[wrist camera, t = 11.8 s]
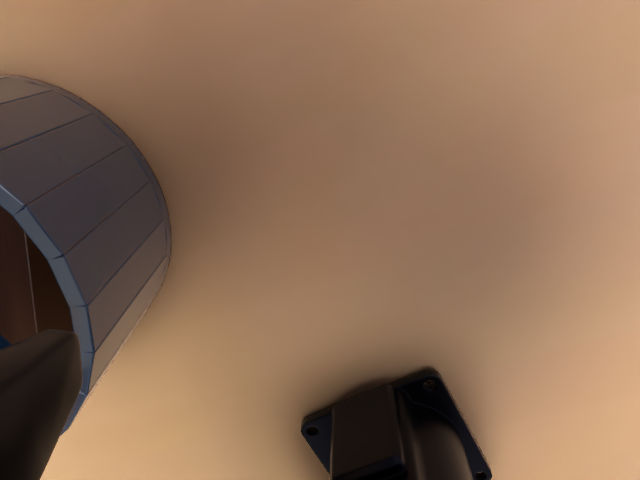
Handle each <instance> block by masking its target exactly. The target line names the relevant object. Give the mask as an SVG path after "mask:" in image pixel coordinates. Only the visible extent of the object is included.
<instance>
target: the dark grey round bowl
mask: <svg viewBox="0 0 640 480" xmlns="http://www.w3.org/2000/svg"><path fill="white" fill-rule="evenodd" d="M0 206H1V207H2V208H3V209H4V210H6V211H7V212H8V213H9V214H10V215H12V216H13V218H14V219H15V220H16V221H17V223H18V224H19V225H20V226H21V228H22V229H23V230H24V232H25V233H26V234H27V235H28V237H29V238H30V239H31V240H32V242H33V243H34V244H35V246H36V247H37V248H38V249H39V251H40V252H41V253H42V254H43V256H44V257H45V258H46V259H47V261H48V263H49V265H50V268H51V270H52V272H53V274H54V276H55V278H56V280H57V282H58V285H59V287H60V289H61V291H62V293H63V295H64V297H65V300H66V302H67V304H68V306H69V309H70V315H71V321H72V327H73V332H75V333H76V334H77V335H78V337H79V341H80V352H81V363H82V375H83V379H82V386H81V389H80V392H79V395H78V397H77V399H76V401H75V404H74V406H73V408H72V410H71V412H70V415H69V417H68V419H67V421H66V423H65V426H64V428H63V430H62V432H61V434H60V436H61V435H62V434H63V433H64V432H65V431H66V430H68V429H69V427H70V426H71V425H72V423H73V422H74V420H75V419H76V417H77V416H78V414H79V413H80V411H81V410H82V408H83V407H84V405H85V404H86V402H87V400H88V399H89V397H90V396H91V394H92V393H93V391H94V390H95V388H96V387H97V385H98V384H99V382H100V381H101V379H102V378H103V376H104V375H105V373H106V372H107V370H108V369H109V367H110V366H111V364H112V363H113V361H114V360H115V358H116V357H117V355H118V354H119V352H120V351H121V349H122V348H123V346H124V345H125V343H126V342H127V340H128V339H129V337H130V336H131V334H132V333H133V331H134V330H135V328H136V327H137V325H138V324H139V322H140V321H141V319H142V318H143V316H144V315H145V313H146V311H147V310H148V308H149V306H150V304H151V303H152V301H153V299H154V298H155V296H156V295H157V293H158V291H159V289H160V287H161V285H162V283H163V281H164V278H165V275H166V271H167V268H168V265H169V258H170V250H171V229H170V223H169V216H168V211H167V207H166V204H165V201H164V197H163V194H162V192H161V189H160V187H159V185H158V182H157V180H156V178H155V176H154V174H153V172H152V170H151V169H150V167H149V165H148V164H147V162H146V160H145V158H144V157H143V156H142V154H141V153H140V152H139V150H138V149H137V148H136V146H135V145H134V144H133V142H132V141H131V140H130V139H129V138H128V137H127V136H126V135H125V134H124V133H123V132H122V131H121V130H120V128H119V127H118V126H117V125H115V124H114V123H113V122H112V121H111V120H110V119H108V118H107V117H106V116H105V115H104V114H102V113H101V112H100V111H99V110H97V109H96V108H94V107H93V106H91V105H90V104H88V103H87V102H85V101H84V100H82V99H80V98H78V97H76V96H75V95H73V94H71V93H69V92H67V91H65V90H63V89H61V88H58V87H55V86H53V85H50V84H47V83H45V82H42V81H39V80H34V79H30V78H26V77H22V76H15V75H6V74H0ZM10 345H12V344H10V343H9V342H8V341H7V340H6V339H5V338H4V337H2V336H1V335H0V349H3V348H5V347H7V346H10Z"/></svg>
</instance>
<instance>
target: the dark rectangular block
mask: <svg viewBox="0 0 640 480" xmlns="http://www.w3.org/2000/svg"><path fill="white" fill-rule="evenodd" d="M47 329H56V330H65V331H73V327H72V321H71V315H70V309H69V306H68V304H67V302H66V300H65V297H64V295H63V293H62V291H61V289H60V287H59V285H58V282H57V280H56V278H55V276H54V274H53V272H52V270H51V268H50V265H49V263H48V261H47V259H46V258H45V257H44V256H43V254H42V253H41V252H40V251H39V249H38V248H37V247H36V246H35V244H34V243H33V242H32V240H31V239H30V238H29V237H28V235H27V234H26V233H25V232H24V230H23V229H22V228H21V226H20V225H19V224H18V223H17V221H16V220H15V219H14V218H13V216H12V215H10V214H9V213H8V212H7V211H6V210H4V209H3V208H2V207H1V206H0V335H1V336H2V337H4V338H5V339H6V340H7V341H8V342H9V343H10V344H14V343H17V342H19V341H21V340H24V339H26V338H28V337H31V336H33V335H35V334H38V333H40V332H42V331H45V330H47Z"/></svg>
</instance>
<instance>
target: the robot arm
mask: <svg viewBox="0 0 640 480" xmlns="http://www.w3.org/2000/svg"><path fill="white" fill-rule="evenodd" d="M82 379H83V375H82V363H81V352H80V341H79V337H78V335H77V334H76V333H75V332H73V331H65V330H56V329H47V330H45V331H42V332H40V333H38V334H35V335H33V336H31V337H28V338H26V339H24V340H21V341H19V342H17V343H14V344H12V345H10V346H7V347H5V348H3V349H0V480H40V478H41V476H42V474H43V472H44V469H45V467H46V465H47V463H48V461H49V459H50V456H51V454H52V452H53V450H54V448H55V445H56V443H57V441H58V439H59V437H60V434H61V432H62V430H63V428H64V426H65V423H66V421H67V419H68V417H69V415H70V412H71V410H72V408H73V406H74V404H75V401H76V399H77V397H78V395H79V392H80V389H81V386H82ZM429 380H433V381H434V382H433V383H432V384H426V383H425V382H427V381H429ZM311 426H314V427H316V429H311V428H309V427H311ZM301 432H302V435H303V436H304V438H305V439H306V441H307V442H308V444H309V445H310V447H311V448H312V450H313V451H314V452H315V454H316V455H317V457H318V458H319V460H320V461H321V463H322V464H323V466H324V467H325V468H326V470H327V471H328V473H329V474H330V480H491V478H492V473H491V470H490V467H489V464H488V462H487V461H486V459H485V457H484V455H483V453H482V451H481V449H480V448H479V446H478V444H477V442H476V440H475V438H474V436H473V435H472V433H471V431H470V429H469V427H468V425H467V423H466V422H465V420H464V418H463V416H462V414H461V412H460V410H459V409H458V407H457V405H456V403H455V401H454V399H453V397H452V396H451V394H450V392H449V390H448V388H447V386H446V384H445V383H444V381H443V379H442V377H441V375H440V374H439V373H438V372H437V371H435V370H432V369H428V370H424V371H421V372H418V373H416V374H413V375H411V376H408V377H406V378H403V379H401V380H398V381H396V382H393V383H391V384H388V385H384V386H382V387H379V388H377V389H374V390H371V391H369V392H366V393H364V394H361V395H359V396H356V397H354V398H351V399H349V400H346V401H344V402H341V403H339V404H336V405H335V406H333V407H330V408H327V409H325V410H322V411H320V412H317V413H315V414H312V415H310V416H307V417H306V418H304V420H303V421H302V428H301ZM478 472H481V473H478Z"/></svg>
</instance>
